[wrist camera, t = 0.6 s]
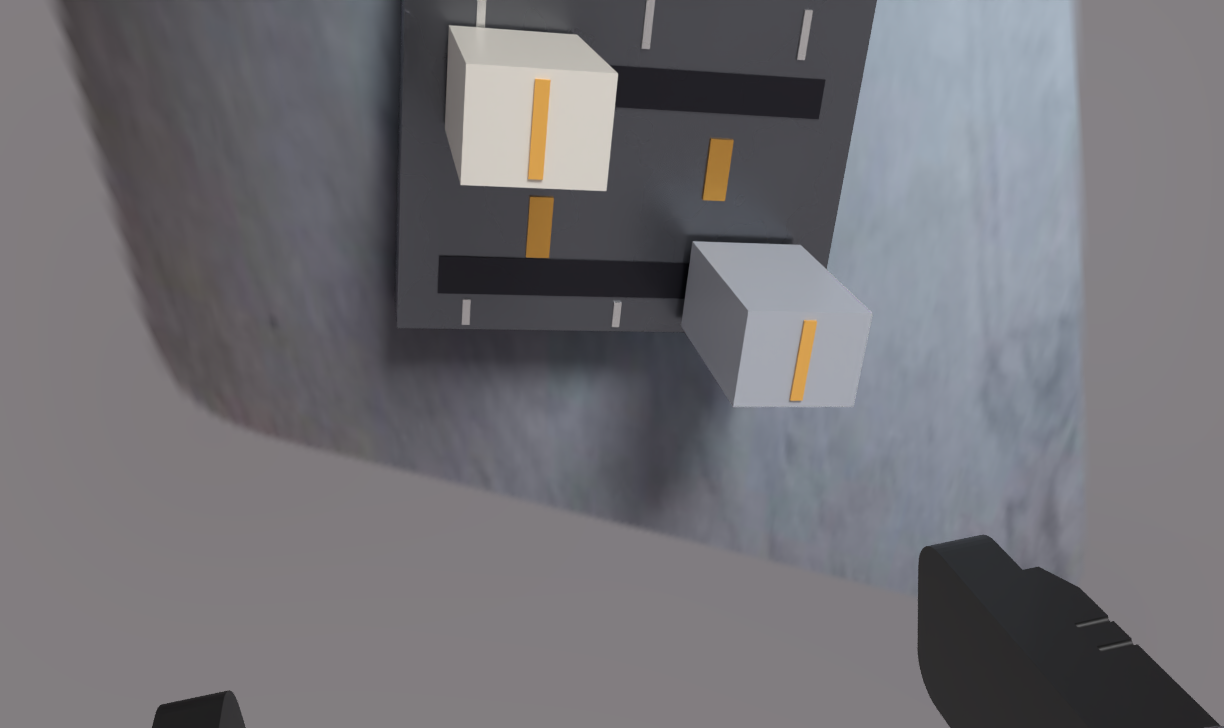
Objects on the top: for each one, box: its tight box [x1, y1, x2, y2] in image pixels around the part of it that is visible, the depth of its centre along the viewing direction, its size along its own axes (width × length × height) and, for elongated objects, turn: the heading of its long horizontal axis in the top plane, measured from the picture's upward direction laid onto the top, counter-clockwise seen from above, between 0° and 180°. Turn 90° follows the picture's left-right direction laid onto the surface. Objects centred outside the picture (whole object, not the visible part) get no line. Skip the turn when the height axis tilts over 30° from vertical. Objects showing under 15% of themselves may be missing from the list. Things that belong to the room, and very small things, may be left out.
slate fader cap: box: [681, 241, 873, 407], centre depth 28 cm, size 2×3×5 cm
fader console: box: [395, 0, 877, 332], centre depth 29 cm, size 10×12×2 cm
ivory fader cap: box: [445, 25, 618, 191], centre depth 25 cm, size 2×3×5 cm
